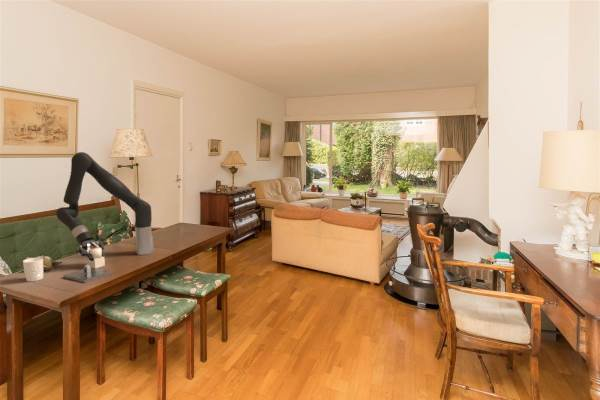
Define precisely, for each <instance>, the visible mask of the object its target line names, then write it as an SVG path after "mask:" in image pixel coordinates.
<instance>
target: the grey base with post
mask: <svg viewBox="0 0 600 400" xmlns="http://www.w3.org/2000/svg"><path fill="white" fill-rule="evenodd" d="M84 265H85V266H83V268H82V269H79V270H76V271H73V272H70V273H65V274H63V279H67V280H72V281H75V282H80V283H83V284H84V283H88V282H89V283H90V282H92V281H94V280H97V279H100V278H103V277H105V276H109V275H111V274H112V271H111V270H109V269H108V270H107V269H102V268H100V267H98V268H94V267H90V266H89V264H88V263H87V264H84Z"/></svg>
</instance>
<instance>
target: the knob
mask: <svg viewBox="0 0 600 400" xmlns="http://www.w3.org/2000/svg"><path fill="white" fill-rule="evenodd" d="M90 254H92V256H93V257H94V260H93V261H91V260H89V258H88V257H87V264H89V266H90V267H94V268H101V267H105V266H106V265H105V261H106V260H105V256H104V257H102V250H101V248H100V247H98V248H96V247H95V248H91V249H90Z"/></svg>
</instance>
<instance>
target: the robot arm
mask: <svg viewBox="0 0 600 400" xmlns="http://www.w3.org/2000/svg"><path fill="white" fill-rule="evenodd" d="M70 162H71V167H70V176H69V180H68V183H67V186H66V189H65V193H64V197H63V202H64V203H65V204H67V205H68V206H67V207H66V206H64V207H59V208H57V210H56V211H55V215H56V217H57V219H58V220H59V221H60V222H61V223H62V224H63V225H65V226H66V227H67V228H68V230H69V231H70V232H71V234H72V236H73V237H74V239H75V240H76V242H77V243H78V245H77V247H76V248H75V250H76V251H77V252H78V253H79V254H80V255H81V256H82V257H85V256H86V257H87V259H88V258H89V260H91V261H93V260H94V257H93V256H92V254H90V249H91V248H98V247H100V248H101V250H102V257H104V258H105V257H106V254H105V252H104V250H105V246H104V243H103V242H102V240H98V241H96V240H95V239H94V236H93V235H92V234H91V232H90V231H89V229H88V227H86V226H85V224H84V223H83V221H82V220H81V219H80V218H77V217H78V216H79V200H80V196H81V192H82V186H83V180H84V178H85V175H86V173H87V174H89V175H90V176H91V177H92V178H94V180H95V181H96V182H97V183H98V184H99V185H100V186H101V187H102V188H103V189H104V190H105V191H106V192H108V193H109V194H110V195H112V196H113V197H115V198H116V199H118V200H120V201H121V202H124V203H125V204H126V205H127V206H128V207H129V208H130V209H132V211H133V212H134V216H135V218H134V231H135V233H134V234H135V235H134V236H135V250H136V253H135V254H136V255H138V256H141V255H142V256H143V255H150V254H152V253H153V252H154V250H155V249H154V237H153V236H152V233H153V232H152V222H153V221H152V219H153V218H152V206H151V205H150V204H149V202H147V201H146V200H143V199H142V198H140V197H138V196H137V195H135V194H134V193H133V192H132V191H131V190H130V189H129V187H127V186H126V184H124V183H123V182H122V181H121V180H120V179H119V178H117V177H116V176H115V175H113V174H112V173H110V171H108V170H106V169H105V168H103V167H102V166H101V165H100V164H99V163H98V162H96V160H95V159H94V158H92V156H90V155H89V154H88V153H87V152H84V151H79V152H77V153H74V155H72V157H71V161H70Z"/></svg>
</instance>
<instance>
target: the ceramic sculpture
mask: <svg viewBox="0 0 600 400" xmlns="http://www.w3.org/2000/svg"><path fill="white" fill-rule="evenodd" d="M37 257H41V258H43V271H51V270H53V269H55V268H56V267H55V266H58V265H60V264H62V263H63V261H60V262H59V261H56V260H53V259H52V257H51V256H49V255H47V256H46V255H45V256H44V255H43V254H39V255H36V257H35V258H37ZM30 258H31V257H28V256H26V258H25V260H26V259H30Z"/></svg>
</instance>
